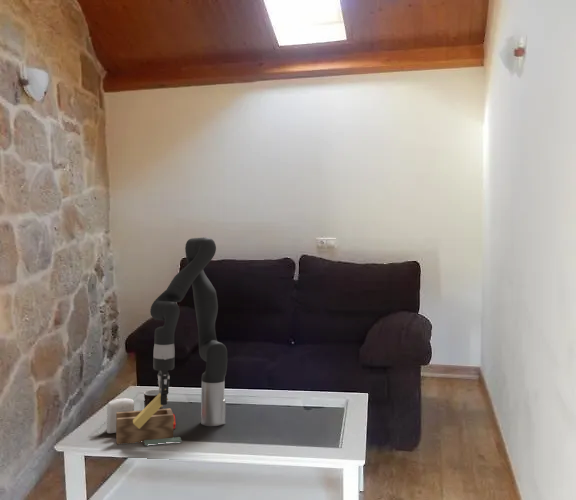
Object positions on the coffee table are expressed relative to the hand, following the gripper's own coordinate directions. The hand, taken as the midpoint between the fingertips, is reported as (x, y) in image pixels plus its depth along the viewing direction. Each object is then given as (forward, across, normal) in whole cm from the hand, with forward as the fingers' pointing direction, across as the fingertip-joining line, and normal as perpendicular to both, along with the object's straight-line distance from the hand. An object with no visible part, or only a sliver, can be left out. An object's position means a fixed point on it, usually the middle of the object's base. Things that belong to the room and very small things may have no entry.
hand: (163, 402), depth 207 cm
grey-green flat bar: (+15, 0, 0) cm, 15 cm away
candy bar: (+15, -21, +5) cm, 26 cm away
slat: (+3, 0, -3) cm, 5 cm away
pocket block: (+15, -7, -6) cm, 17 cm away
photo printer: (+15, -17, -14) cm, 27 cm away
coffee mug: (+15, -31, -1) cm, 35 cm away
